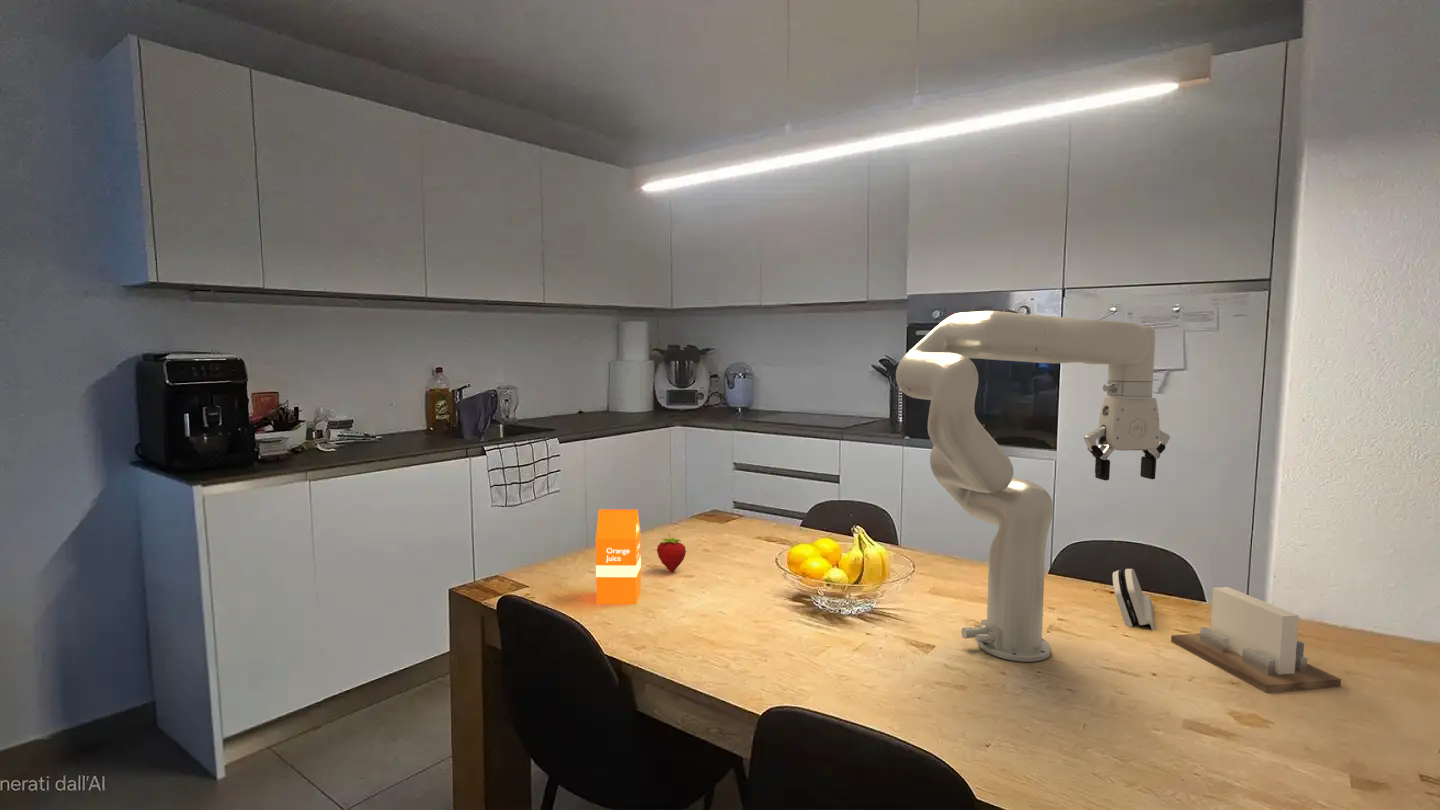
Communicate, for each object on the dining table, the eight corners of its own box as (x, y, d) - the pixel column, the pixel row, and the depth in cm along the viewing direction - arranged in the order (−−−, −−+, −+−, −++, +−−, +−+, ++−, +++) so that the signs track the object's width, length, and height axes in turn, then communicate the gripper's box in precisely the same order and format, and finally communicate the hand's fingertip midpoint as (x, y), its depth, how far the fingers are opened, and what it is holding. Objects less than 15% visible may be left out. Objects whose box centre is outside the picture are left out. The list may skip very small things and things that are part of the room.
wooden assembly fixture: (1266, 692, 116) (1268, 661, 115) (1171, 641, 135) (1172, 614, 135) (1340, 686, 118) (1343, 655, 117) (1236, 636, 138) (1237, 610, 137)
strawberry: (679, 577, 173) (679, 537, 172) (652, 573, 176) (651, 533, 175) (690, 570, 178) (690, 531, 177) (664, 566, 181) (663, 527, 181)
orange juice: (636, 604, 155) (635, 513, 154) (596, 604, 156) (594, 513, 154) (641, 591, 163) (640, 505, 162) (602, 591, 163) (601, 505, 162)
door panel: (1278, 674, 119) (1282, 616, 119) (1210, 640, 133) (1213, 587, 132) (1294, 673, 120) (1298, 615, 119) (1224, 639, 134) (1227, 586, 133)
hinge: (1155, 631, 140) (1137, 581, 141) (1128, 634, 143) (1111, 585, 144) (1152, 604, 155) (1136, 559, 156) (1128, 607, 157) (1112, 563, 158)
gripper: (1101, 392, 132) (1096, 483, 134) (1185, 391, 135) (1180, 481, 136) (1075, 389, 140) (1071, 476, 141) (1155, 388, 142) (1151, 474, 144)
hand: (1124, 478), depth 139 cm, fingers open, 9 cm apart
